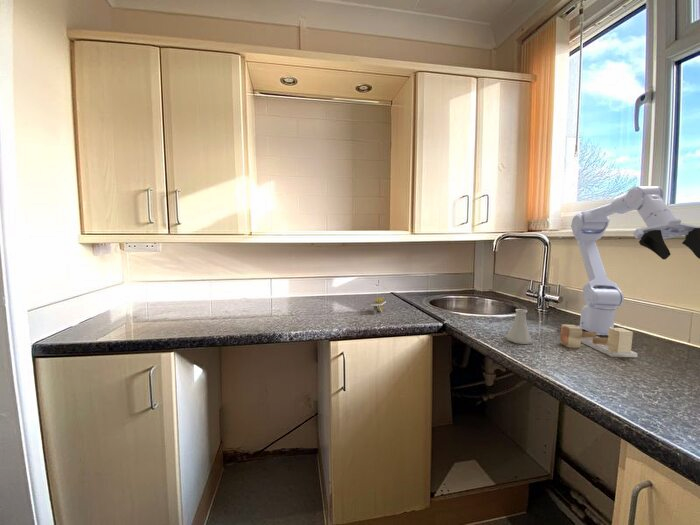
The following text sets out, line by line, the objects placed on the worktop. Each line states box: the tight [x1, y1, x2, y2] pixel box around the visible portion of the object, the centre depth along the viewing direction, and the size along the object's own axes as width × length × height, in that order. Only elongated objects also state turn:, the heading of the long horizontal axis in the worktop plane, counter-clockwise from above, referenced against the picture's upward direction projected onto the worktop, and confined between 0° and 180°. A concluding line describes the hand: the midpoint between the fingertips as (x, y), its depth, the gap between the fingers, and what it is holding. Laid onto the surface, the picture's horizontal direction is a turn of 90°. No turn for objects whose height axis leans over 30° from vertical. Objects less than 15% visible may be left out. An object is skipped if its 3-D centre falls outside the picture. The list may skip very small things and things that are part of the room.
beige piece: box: [581, 327, 639, 358], centre depth 92 cm, size 15×7×7 cm, turn 179°
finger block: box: [559, 324, 583, 349], centre depth 93 cm, size 4×4×6 cm
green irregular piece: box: [370, 296, 387, 315], centre depth 127 cm, size 12×18×7 cm, turn 155°
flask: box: [506, 308, 533, 345], centre depth 96 cm, size 7×7×10 cm
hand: (685, 256), depth 76 cm, fingers open, 7 cm apart
